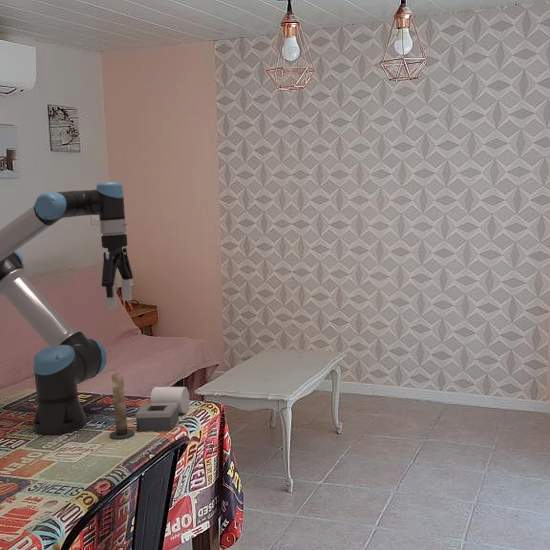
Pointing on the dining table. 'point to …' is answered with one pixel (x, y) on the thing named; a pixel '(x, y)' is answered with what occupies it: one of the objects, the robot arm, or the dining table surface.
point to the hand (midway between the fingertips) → (119, 304)
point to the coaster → (117, 437)
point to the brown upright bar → (119, 404)
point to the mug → (171, 397)
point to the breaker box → (157, 417)
